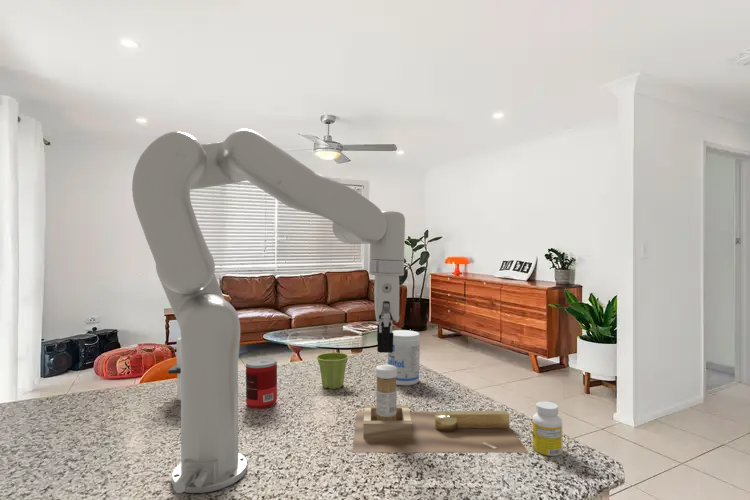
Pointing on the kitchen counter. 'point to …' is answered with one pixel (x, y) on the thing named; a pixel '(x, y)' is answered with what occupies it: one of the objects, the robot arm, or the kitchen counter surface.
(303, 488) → the kitchen counter surface
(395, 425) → the socket
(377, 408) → the spice jar
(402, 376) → the supplement tub
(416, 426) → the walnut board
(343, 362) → the plant pot
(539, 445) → the supplement bottle
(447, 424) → the lever
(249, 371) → the canned food
